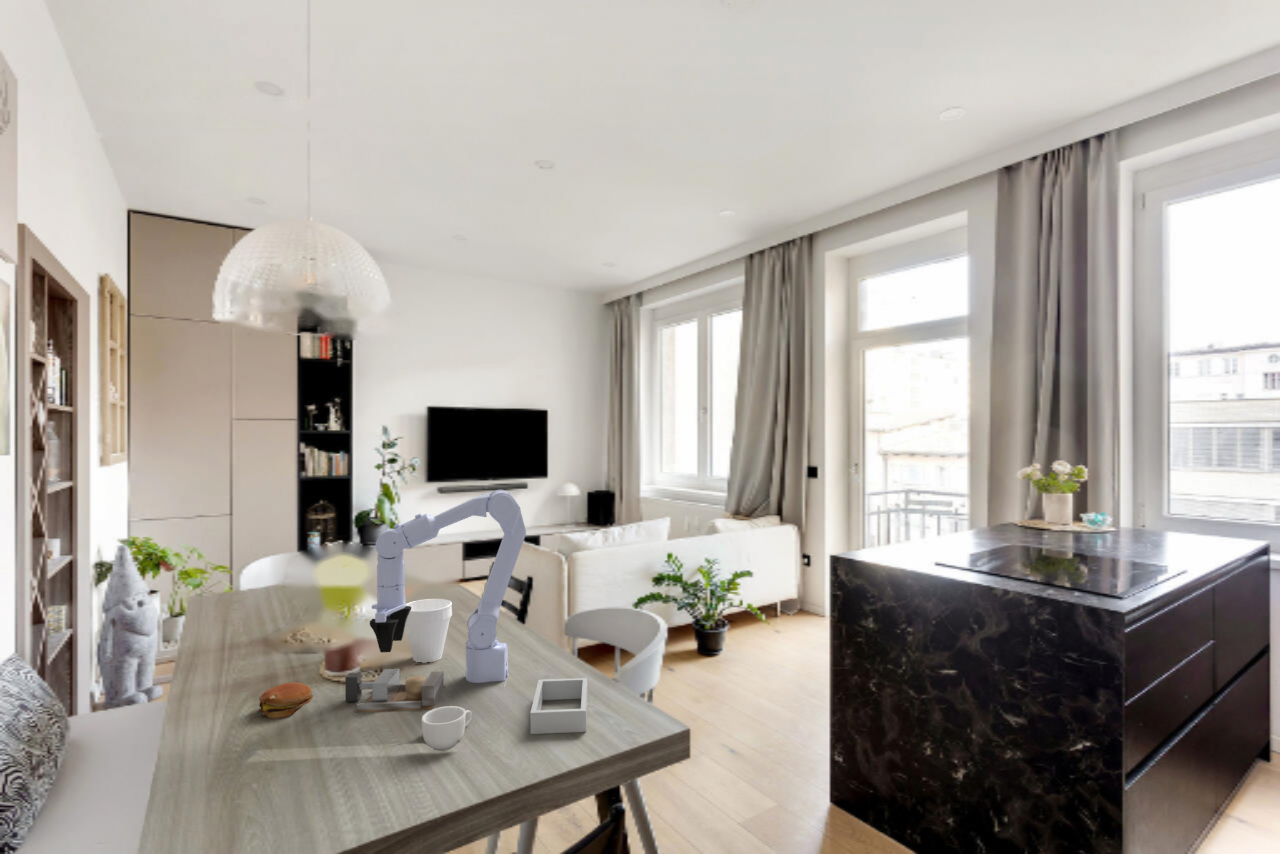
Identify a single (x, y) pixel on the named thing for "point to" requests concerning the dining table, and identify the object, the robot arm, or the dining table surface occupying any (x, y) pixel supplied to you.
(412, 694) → the nut
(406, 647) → the dining table surface
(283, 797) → the dining table surface
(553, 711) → the box
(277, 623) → the dining table surface
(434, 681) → the bench
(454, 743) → the teacup
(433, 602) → the white plant pot
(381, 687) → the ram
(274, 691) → the burger
